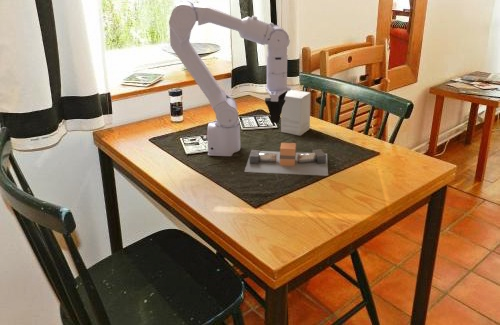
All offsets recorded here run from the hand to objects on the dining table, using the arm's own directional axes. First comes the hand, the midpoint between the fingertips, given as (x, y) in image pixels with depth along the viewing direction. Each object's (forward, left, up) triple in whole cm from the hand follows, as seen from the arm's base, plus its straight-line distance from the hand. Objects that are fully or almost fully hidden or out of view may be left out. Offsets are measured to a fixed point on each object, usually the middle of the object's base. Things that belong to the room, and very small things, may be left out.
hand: (276, 118), depth 131 cm
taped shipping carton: (+4, -11, -9) cm, 15 cm away
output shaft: (+10, -10, -10) cm, 17 cm away
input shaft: (-2, -11, -10) cm, 15 cm away
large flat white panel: (+4, -11, -10) cm, 15 cm away
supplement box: (+5, +16, -10) cm, 20 cm away
